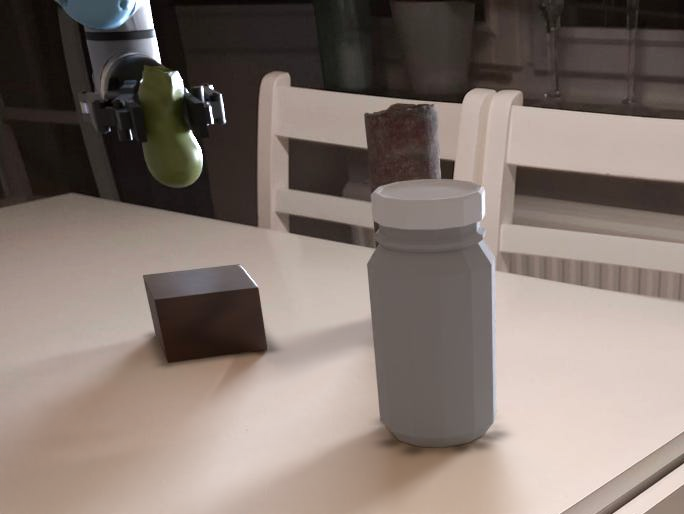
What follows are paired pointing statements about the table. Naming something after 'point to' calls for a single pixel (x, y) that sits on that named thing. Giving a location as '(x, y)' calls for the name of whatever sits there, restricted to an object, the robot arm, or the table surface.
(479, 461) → the table surface
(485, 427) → the jar
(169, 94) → the pear
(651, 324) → the table surface
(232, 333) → the block
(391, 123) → the candle
